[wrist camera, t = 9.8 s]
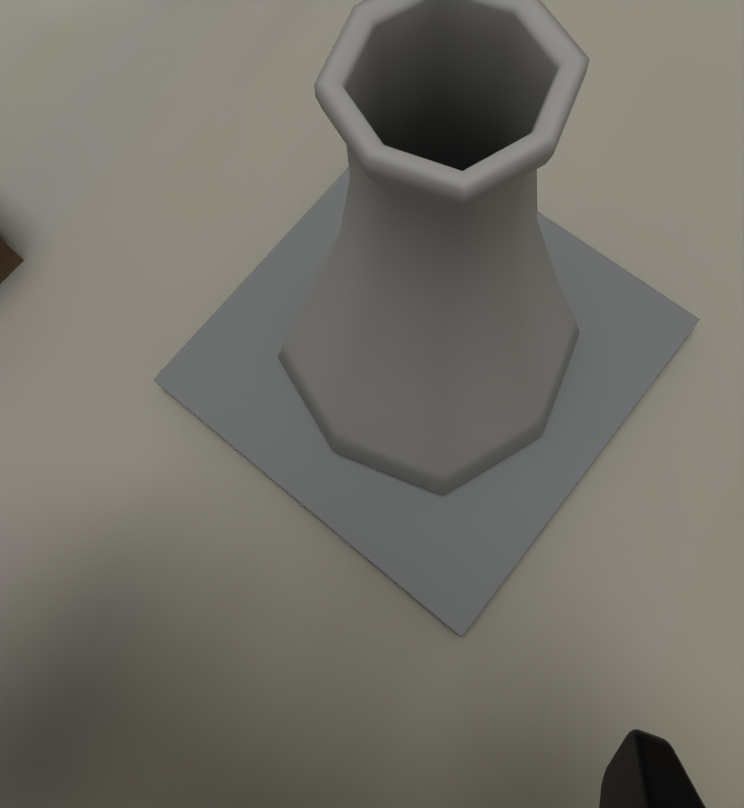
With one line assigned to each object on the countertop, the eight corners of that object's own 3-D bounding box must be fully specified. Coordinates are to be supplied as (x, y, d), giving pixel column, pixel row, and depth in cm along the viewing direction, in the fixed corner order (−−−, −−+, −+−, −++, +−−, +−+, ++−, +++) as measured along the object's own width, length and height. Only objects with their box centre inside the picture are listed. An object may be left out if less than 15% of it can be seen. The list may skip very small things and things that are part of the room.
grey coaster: (691, 328, 19) (699, 319, 18) (459, 635, 17) (461, 636, 16) (395, 130, 21) (394, 117, 20) (160, 386, 19) (153, 380, 18)
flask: (410, 174, 20) (415, -232, 10) (627, 332, 18) (875, 30, 9) (230, 364, 18) (39, 107, 9) (446, 550, 17) (500, 483, 7)
